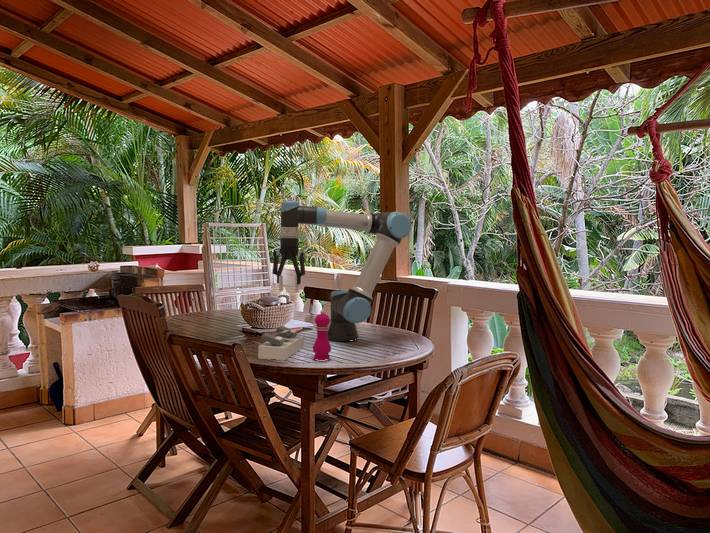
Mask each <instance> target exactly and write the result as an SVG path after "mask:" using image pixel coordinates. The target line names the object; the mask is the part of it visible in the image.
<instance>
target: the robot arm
mask: <svg viewBox="0 0 710 533" xmlns="http://www.w3.org/2000/svg"><path fill="white" fill-rule="evenodd" d="M299 224H300V225H312V226H322V227H329V228H338V229H348V230H356V231H357V230H358V231H363V232H364V233H365V234H372V235H375V236H376V241H375V243H374V245H373V247H372V249H371V251H370V253H369V255H368V258H367V259H366V261H365V264H364V266H363V268H362V270H361V271H360V273H359V276H358V278H357V280H356V282H355V283H354V285H353V286H352V287H349V288H348V290H333V291H332V292H331V294H330V298H329V299H330V314H329V315H330V316H329V318H330V323H329V324H328V326H329V327H328V330H327V337H328V340H329V341H330V340H333V341H332V342H335V341H350V340H355V339H357V338H358V339H359V333H358V328H357V325H356V324H361V323H363V322H365V321H366V320H367V319H369V317H370V316H371V313H372V306H371V304H372V302H373V300H374V298H373V296H372V295H373V292H374V290H375V288H376V285H377V284H378V282H379V279H380V277H381V275H382V273H383V271H384V270H385V267H386V265H387V262H388V261H389V259H390V257H391V254H392V253H393V252H394V251H393V250H394V248H396V247H398V246H400V244H401V243H402V240H403V239H404V238H406V237H408V235H409V234H410V232H411V229H412V223H411V219H410V218H409V216H408V215H407V214H405V213H404V212H400V211H392V212H389V211H388V212H387V211H386V212H385V211H384V212H367V213H366V214H362V213H356V212H347V211H340V210H339V211H338V210H331V209H326V208H325V207H324V206H318V205H316V206H313V205H312V206H310V205H308V206H306V205H304V206H303V205H300V202H299V201H298V200H283V201H281V204H280V242H279V243H280V245H279V246H280V248H279V249H278V250H274V251H273V264H272V265H273V266H272V274H273V275H275V276H276V283H277V284H278V292H283V289H284V288H283V287H284V275H283V274H282V273H283V270H284V268H285V265H286V262H287V260H291V262H292V265H293V268H294V272H295V275H296V276H294V293H298V292H299V291H300V290H299V287H300V286H299V285H301V281H302V276H305V275H306V265H305V255H306V252H305V251H301V250H300V249H299V238H298V237H299ZM280 256H281V260H280V263H279V259H280ZM297 256H298V257H299V264H298V259H297Z"/></svg>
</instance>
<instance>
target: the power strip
mask: <svg viewBox="0 0 710 533" xmlns="http://www.w3.org/2000/svg"><path fill="white" fill-rule="evenodd" d="M284 339H285V340H284V343H283V344H282V345H280V346H278V345H275V344H272V343H269V342H267V341H265V342H263V343H262V344H259V345H257V346H258V351H257V352H258V356H257V357H258V359H262V360H271V359H276V360H277V361H284V360H285V359H286V360H287V358H288V357H289V356H291V355H292V354H293V355H295V354H296V353H298V352H300V351H301V350H303V349H304V348H303V347H305V336H304V335H297V336H295V337H294V338H291V337H285V338H284ZM300 349H301V350H300ZM297 351H298V352H297ZM294 353H295V354H294ZM293 355H292V356H293ZM292 356H291V357H292ZM289 358H290V357H289ZM289 358H288V359H289ZM276 360H275V361H276ZM286 360H285V361H286Z"/></svg>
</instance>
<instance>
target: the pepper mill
mask: <svg viewBox="0 0 710 533" xmlns="http://www.w3.org/2000/svg"><path fill="white" fill-rule="evenodd" d="M319 311H320V312H319V314H317V315H316V316H315V317H314V318H315V319H314V323H315V324H316V326H315V330H316V339H315V341H314V343H313V346H312V351H313V353H314V354H313V360H314V359H318V360H325V359H329V358H330V357H331V356H330V353H331V351H332V347H331V343H330V340H328V337H327V331H328V328H329V325H330V316H329V315H328V314H326V312H325V310H324V309H321V310H319Z"/></svg>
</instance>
